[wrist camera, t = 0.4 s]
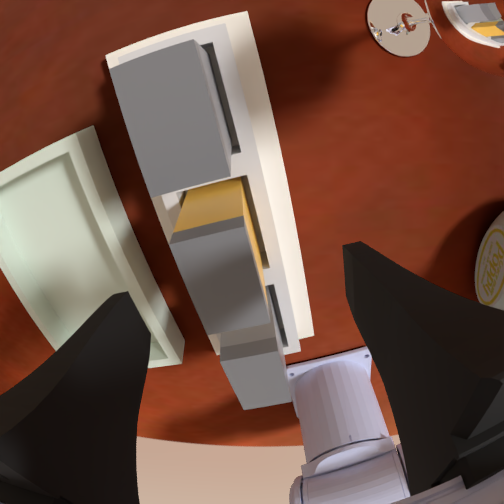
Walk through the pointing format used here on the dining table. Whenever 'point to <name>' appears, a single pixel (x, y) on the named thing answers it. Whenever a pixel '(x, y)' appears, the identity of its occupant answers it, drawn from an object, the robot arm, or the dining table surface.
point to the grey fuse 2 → (256, 362)
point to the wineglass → (442, 29)
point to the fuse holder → (245, 162)
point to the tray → (76, 245)
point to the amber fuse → (221, 257)
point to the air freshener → (491, 266)
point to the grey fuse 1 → (174, 117)
